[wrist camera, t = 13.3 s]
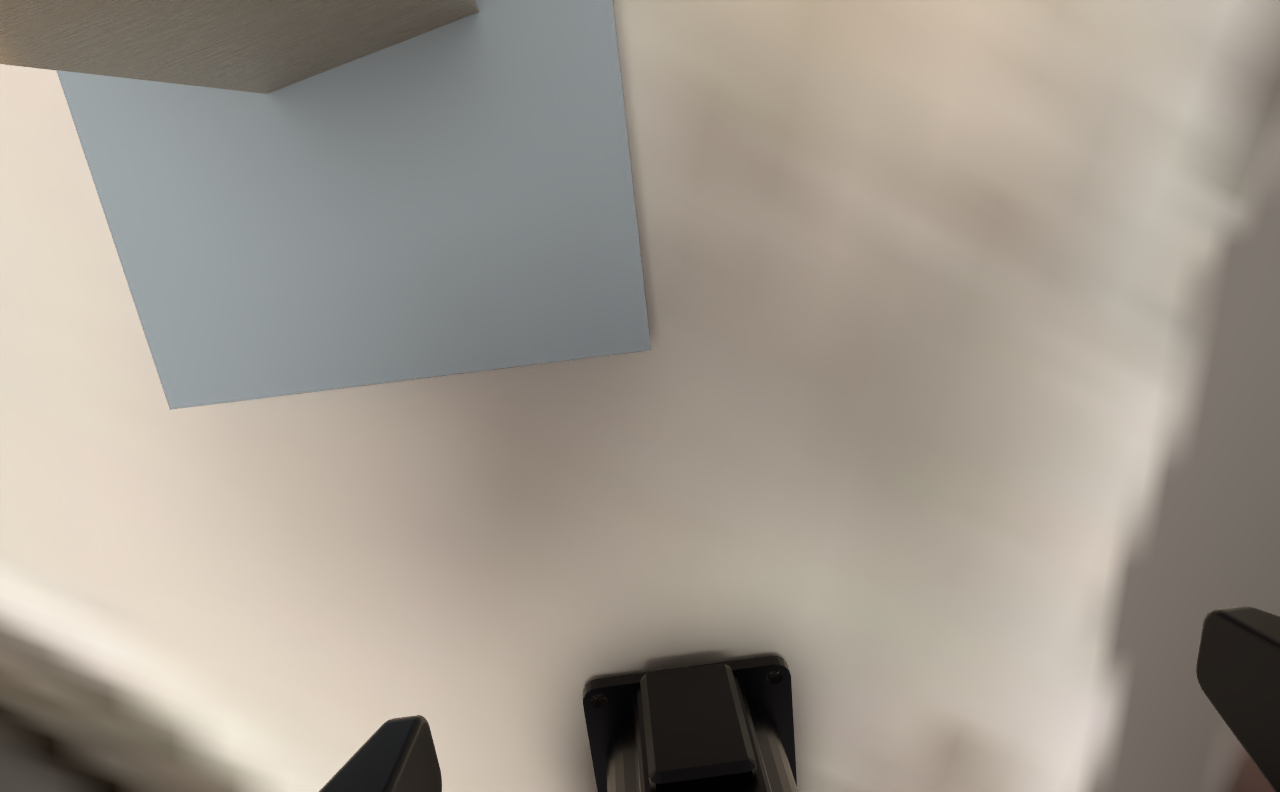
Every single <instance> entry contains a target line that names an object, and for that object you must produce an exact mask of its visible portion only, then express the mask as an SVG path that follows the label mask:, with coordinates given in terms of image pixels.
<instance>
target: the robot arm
mask: <svg viewBox="0 0 1280 792" xmlns="http://www.w3.org/2000/svg"><path fill="white" fill-rule="evenodd" d="M773 671H779V672H778V673H777V674H776V675H774V676H768V674H769V673H770V672H773ZM1196 673H1197V678H1198V681H1199V684H1200V686H1201V688H1202V690H1203V691H1204V693H1205V695H1206V696H1207V697H1208V699H1209V700H1210V702H1211V703H1212V704H1213V706H1214V707H1215V709H1216V710H1217V711H1218V713H1219V714H1220V716H1221V717H1222V718H1223V720H1224V721H1225V723H1226V724H1227V725H1228V727H1229V728H1230V730H1231V731H1232V732H1233V734H1234V735H1235V737H1236V738H1237V739H1238V741H1239V742H1240V744H1241V745H1242V746H1243V748H1244V749H1245V751H1246V752H1247V753H1248V755H1249V756H1250V758H1251V759H1252V760H1253V762H1254V763H1255V764H1256V766H1257V767H1258V769H1259V770H1260V771H1261V773H1262V774H1263V776H1264V777H1265V778H1266V780H1267V781H1268V783H1269V784H1270V785H1271V787H1272V788H1273V790H1274V791H1275V792H1280V617H1279V616H1276V615H1273V614H1271V613H1268V612H1264V611H1262V610H1259V609H1256V608H1253V607H1248V606H1237V607H1231V608H1223V609H1215V610H1213V611H1211V612H1209V613H1208V614H1207V615H1206V617H1205V618H1204V621H1203V626H1202V632H1201V639H1200V645H1199V651H1198V658H1197V664H1196ZM598 694H600V695H604V696H605V697H604V698H601V699H596V698H594V697H593V696H595V695H598ZM583 706H584V712H585V718H586V724H587V730H588V736H589V742H590V748H591V754H592V760H593V766H594V772H595V778H596V784H597V790H598V792H798V790H797V780H796V762H795V744H794V726H793V708H792V690H791V675H790V672H789V669H788V666H787V663H786V662H785V661H784V660H783V659H782V658H780V657H777V656H769V657H761V658H754V659H746V660H738V661H731V662H723V663H716V664H708V665H701V666H693V667H686V668H678V669H671V670H663V671H656V672H648V673H640V674H633V675H625V676H618V677H610V678H603V679H596V680H593V681H590V682H589V683H588V684H586V686H585V688H584V690H583ZM319 792H442V779H441V771H440V767H439V763H438V759H437V755H436V751H435V747H434V743H433V739H432V735H431V731H430V727H429V724H428V722H427V720H426V719H425V718H424V717H422V716H420V715H417V716H409V717H402V718H394V719H391V720H388V721H386V722H385V723H384V724H383V725H382V726H381V727H380V728H379V729H378V730H377V731H376V732H375V733H374V734H373V735H372V736H371V737H370V738H369V740H368V741H367V742H366V743H365V744H364V745H363V746H362V747H361V748H360V749H359V750H358V751H357V752H356V753H355V754H354V755H353V756H352V757H351V758H350V760H349V761H348V762H347V763H346V764H345V765H344V766H343V767H342V768H341V769H340V770H339V771H338V772H337V773H336V774H335V775H334V776H333V777H332V778H331V780H330V781H329V782H328V783H327V784H326V785H325V786H324V787H323V788H322V789H321V790H320V791H319Z"/></svg>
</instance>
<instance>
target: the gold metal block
mask: <svg viewBox="0 0 1280 792" xmlns="http://www.w3.org/2000/svg"><path fill="white" fill-rule="evenodd" d="M478 12H479V10H478V7H477V4H476V2H475V0H0V64H6V65H15V66H24V67H33V68H42V69H50V70H59V71H68V72H77V73H86V74H95V75H103V76H112V77H121V78H130V79H139V80H148V81H157V82H165V83H174V84H183V85H192V86H201V87H210V88H218V89H227V90H236V91H245V92H254V93H263V94H268V93H271V92H274V91H276V90H279V89H281V88H284V87H286V86H289V85H292V84H294V83H297V82H299V81H302V80H305V79H307V78H310V77H312V76H315V75H318V74H320V73H323V72H325V71H328V70H331V69H333V68H336V67H338V66H341V65H343V64H346V63H349V62H351V61H354V60H356V59H359V58H362V57H364V56H367V55H369V54H372V53H375V52H377V51H380V50H382V49H385V48H387V47H390V46H393V45H395V44H398V43H400V42H403V41H406V40H408V39H411V38H413V37H416V36H419V35H421V34H424V33H426V32H429V31H432V30H434V29H437V28H439V27H442V26H444V25H447V24H450V23H452V22H455V21H457V20H460V19H463V18H465V17H468V16H470V15H473V14H476V13H478Z"/></svg>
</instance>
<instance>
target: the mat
mask: <svg viewBox="0 0 1280 792" xmlns="http://www.w3.org/2000/svg"><path fill="white" fill-rule="evenodd" d="M475 2H476V4H477V7H478V10H479V12H478V13H476V14H473V15H470V16H468V17H465V18H463V19H460V20H457V21H455V22H452V23H450V24H447V25H444V26H442V27H439V28H437V29H434V30H432V31H429V32H426V33H424V34H421V35H419V36H416V37H413V38H411V39H408V40H406V41H403V42H400V43H398V44H395V45H393V46H390V47H387V48H385V49H382V50H380V51H377V52H375V53H372V54H369V55H367V56H364V57H362V58H359V59H356V60H354V61H351V62H349V63H346V64H343V65H341V66H338V67H336V68H333V69H331V70H328V71H325V72H323V73H320V74H318V75H315V76H312V77H310V78H307V79H305V80H302V81H299V82H297V83H294V84H292V85H289V86H286V87H284V88H281V89H279V90H276V91H274V92H271V93H268V94H263V93H254V92H245V91H236V90H227V89H218V88H210V87H201V86H192V85H183V84H174V83H165V82H157V81H148V80H139V79H130V78H121V77H112V76H103V75H95V74H86V73H77V72H68V71H59V70H57V73H58V76H59V79H60V82H61V85H62V88H63V91H64V94H65V97H66V100H67V103H68V106H69V109H70V112H71V115H72V118H73V121H74V124H75V127H76V130H77V133H78V136H79V139H80V142H81V145H82V148H83V151H84V154H85V157H86V160H87V163H88V166H89V169H90V172H91V175H92V178H93V181H94V184H95V187H96V190H97V193H98V196H99V199H100V202H101V205H102V208H103V211H104V214H105V217H106V220H107V223H108V226H109V229H110V232H111V235H112V238H113V241H114V244H115V247H116V249H117V252H118V255H119V258H120V261H121V264H122V267H123V270H124V273H125V276H126V279H127V282H128V285H129V288H130V291H131V294H132V297H133V300H134V303H135V306H136V309H137V312H138V315H139V318H140V321H141V324H142V327H143V330H144V333H145V336H146V339H147V342H148V345H149V348H150V351H151V354H152V357H153V360H154V363H155V366H156V369H157V372H158V375H159V378H160V381H161V384H162V387H163V390H164V393H165V396H166V399H167V402H168V405H169V408H170V409H178V408H186V407H194V406H203V405H211V404H219V403H227V402H235V401H243V400H251V399H259V398H267V397H275V396H283V395H291V394H300V393H308V392H316V391H324V390H332V389H340V388H348V387H356V386H364V385H372V384H380V383H388V382H397V381H405V380H413V379H421V378H429V377H437V376H445V375H453V374H461V373H469V372H477V371H485V370H494V369H502V368H510V367H518V366H526V365H534V364H542V363H550V362H558V361H566V360H574V359H582V358H591V357H599V356H607V355H615V354H623V353H631V352H639V351H647V350H651V344H650V335H649V326H648V317H647V308H646V299H645V290H644V281H643V271H642V262H641V253H640V244H639V235H638V226H637V217H636V208H635V199H634V190H633V181H632V171H631V162H630V153H629V144H628V135H627V126H626V117H625V108H624V99H623V90H622V81H621V71H620V62H619V53H618V44H617V35H616V26H615V17H614V8H613V0H475Z"/></svg>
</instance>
